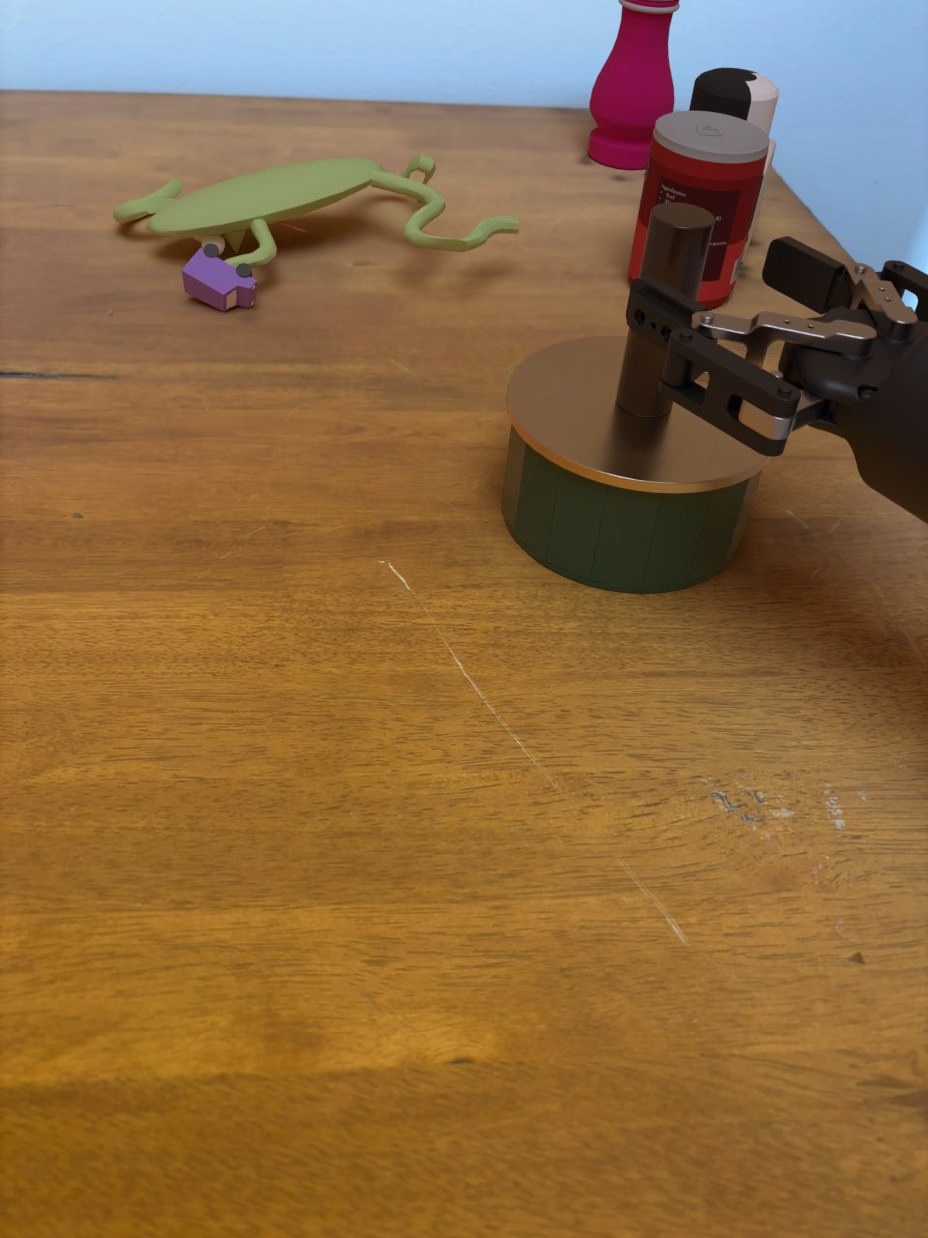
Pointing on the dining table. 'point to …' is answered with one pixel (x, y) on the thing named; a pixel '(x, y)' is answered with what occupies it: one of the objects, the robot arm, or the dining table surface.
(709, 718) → the dining table surface
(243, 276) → the figurine
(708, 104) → the medicine bottle
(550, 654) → the dining table surface
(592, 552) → the tin
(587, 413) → the tin lid
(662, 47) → the pepper mill
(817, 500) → the dining table surface
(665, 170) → the canned food
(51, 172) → the dining table surface
